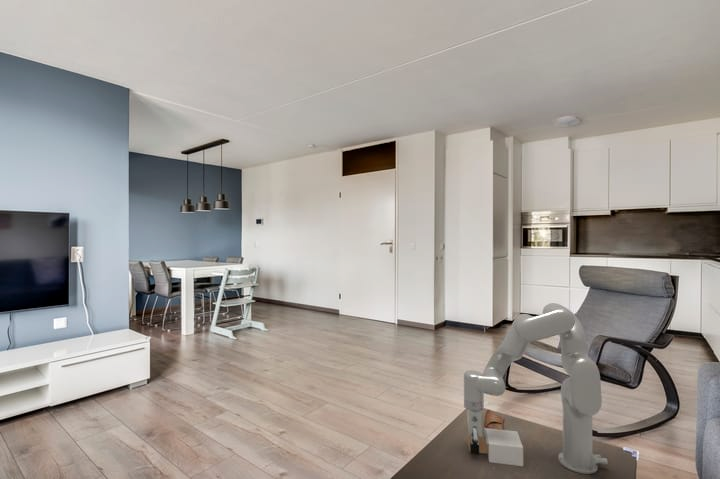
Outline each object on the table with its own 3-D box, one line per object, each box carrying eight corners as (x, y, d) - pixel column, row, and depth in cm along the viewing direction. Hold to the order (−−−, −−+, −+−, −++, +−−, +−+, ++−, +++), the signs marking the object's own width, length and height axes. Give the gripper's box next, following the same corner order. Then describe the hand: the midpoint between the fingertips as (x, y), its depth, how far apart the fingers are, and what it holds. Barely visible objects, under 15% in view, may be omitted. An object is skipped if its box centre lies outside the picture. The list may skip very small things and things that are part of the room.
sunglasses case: (505, 437, 158) (496, 422, 159) (490, 442, 160) (481, 428, 161) (504, 418, 175) (496, 404, 176) (491, 423, 177) (483, 410, 178)
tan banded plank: (503, 453, 145) (503, 438, 145) (503, 455, 144) (503, 441, 144) (468, 449, 148) (468, 435, 148) (468, 451, 147) (468, 437, 147)
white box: (517, 448, 149) (517, 430, 149) (523, 466, 137) (523, 447, 137) (483, 444, 152) (483, 427, 152) (486, 461, 140) (486, 442, 140)
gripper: (486, 414, 138) (486, 463, 138) (481, 395, 155) (481, 438, 155) (465, 412, 140) (465, 460, 139) (462, 393, 156) (463, 436, 156)
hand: (474, 448), depth 147 cm, fingers open, 6 cm apart
